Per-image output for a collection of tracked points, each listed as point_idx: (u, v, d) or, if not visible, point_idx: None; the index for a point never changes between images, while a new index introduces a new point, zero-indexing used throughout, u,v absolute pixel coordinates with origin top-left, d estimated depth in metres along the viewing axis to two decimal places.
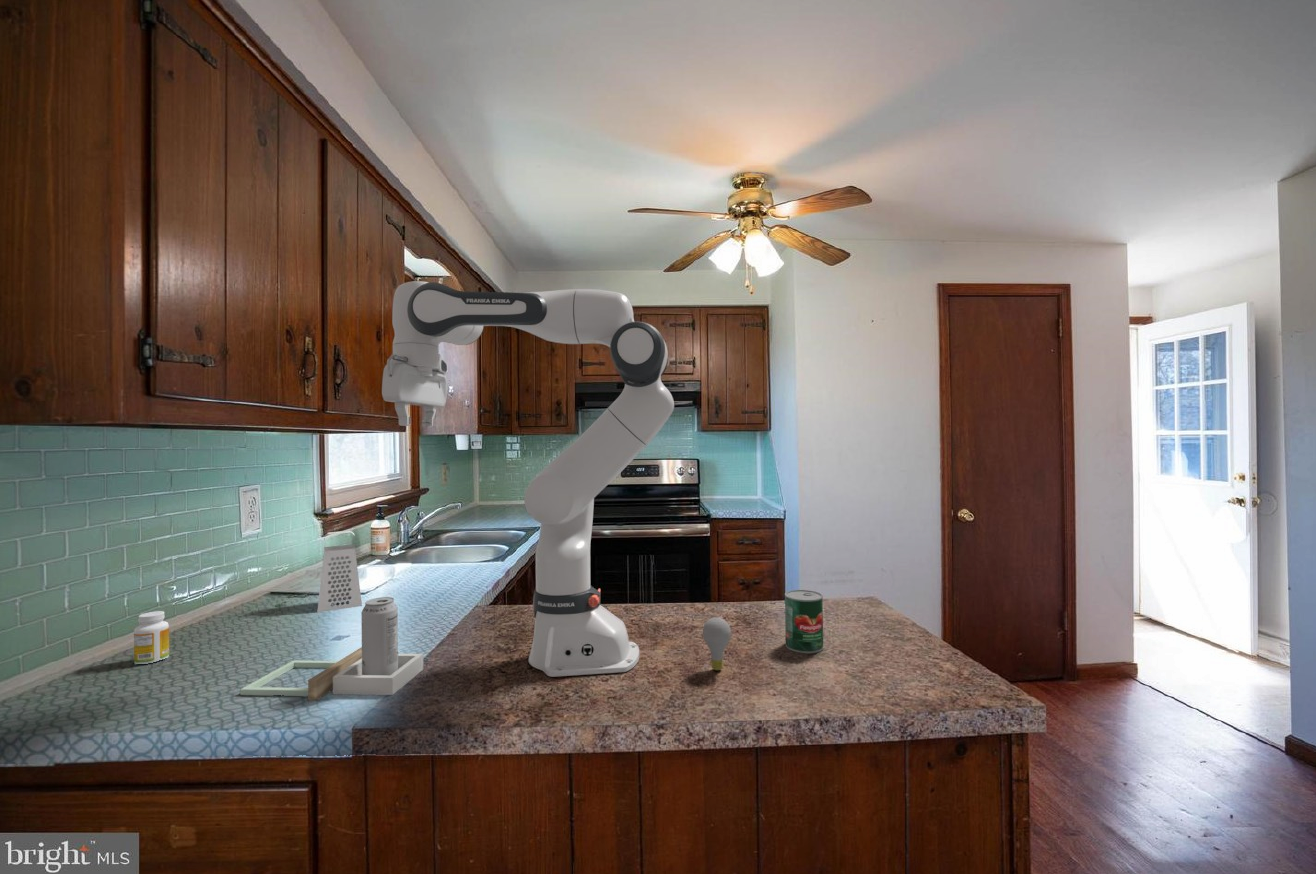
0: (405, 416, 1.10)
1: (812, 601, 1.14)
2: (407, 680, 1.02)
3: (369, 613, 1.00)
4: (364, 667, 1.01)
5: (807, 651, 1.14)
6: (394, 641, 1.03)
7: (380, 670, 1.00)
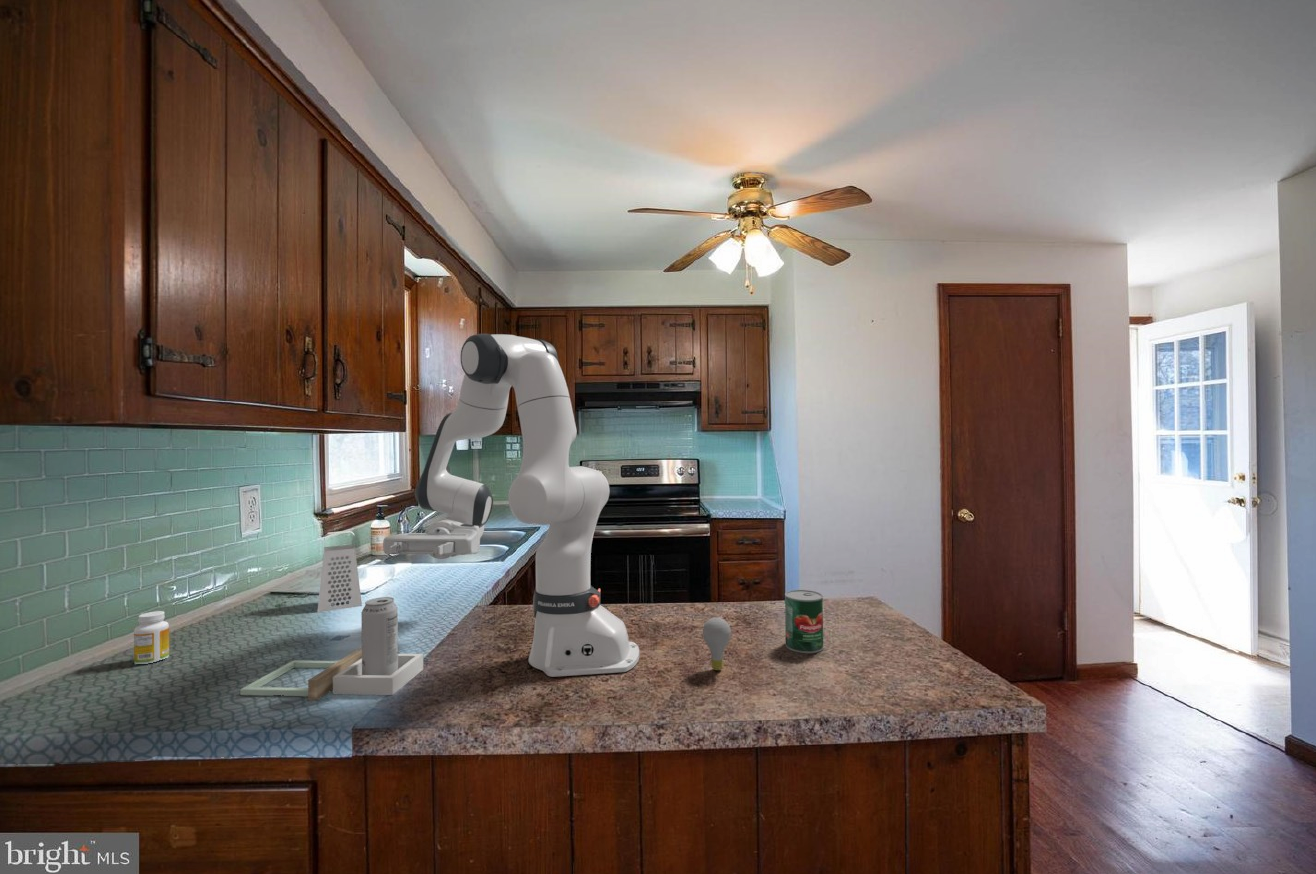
0: None
1: (812, 601, 1.14)
2: (407, 680, 1.02)
3: (369, 613, 1.00)
4: (364, 667, 1.01)
5: (807, 651, 1.14)
6: (394, 641, 1.03)
7: (380, 670, 1.00)
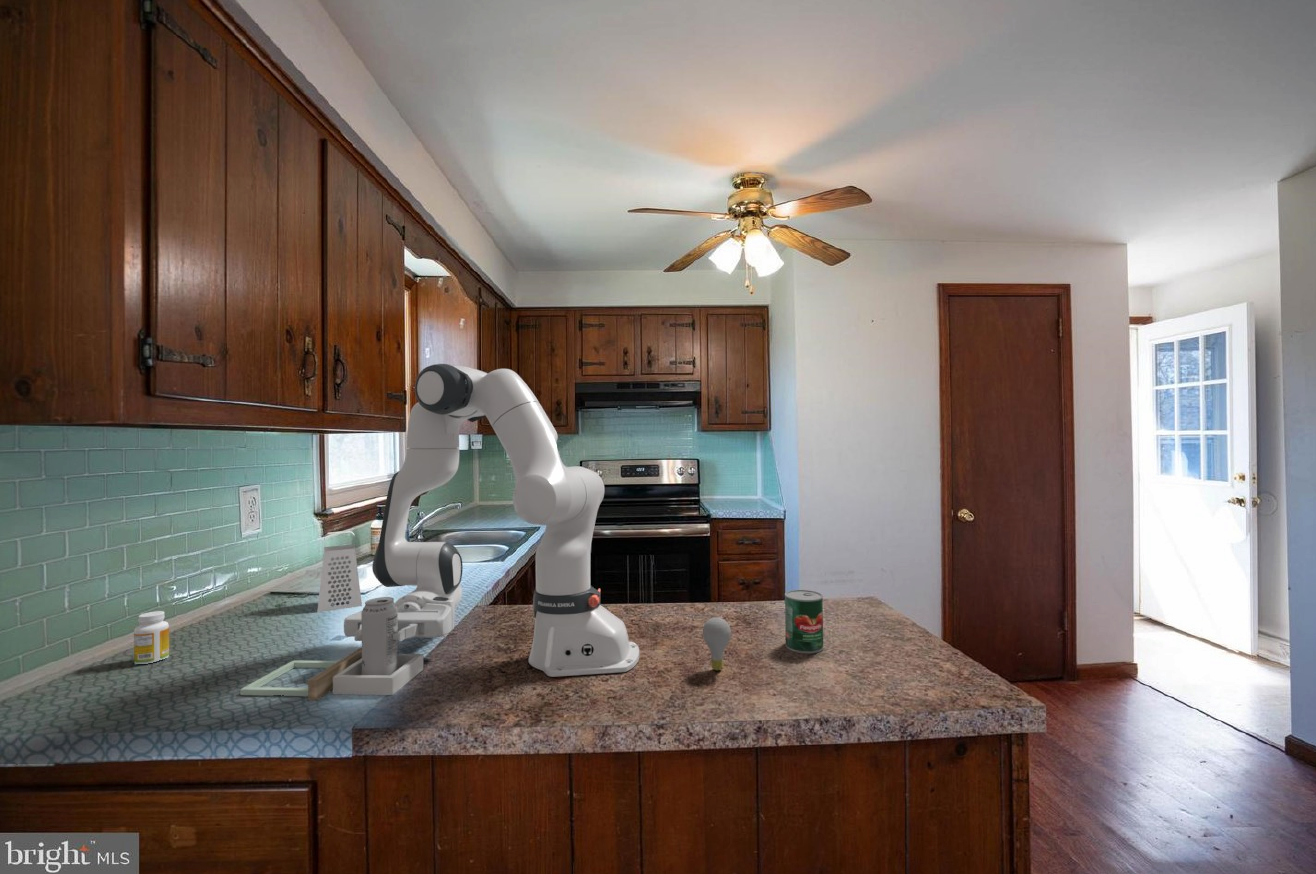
0: None
1: (812, 601, 1.14)
2: (407, 680, 1.02)
3: (369, 613, 1.00)
4: (364, 667, 1.00)
5: (807, 651, 1.14)
6: (394, 641, 1.03)
7: (380, 670, 1.00)
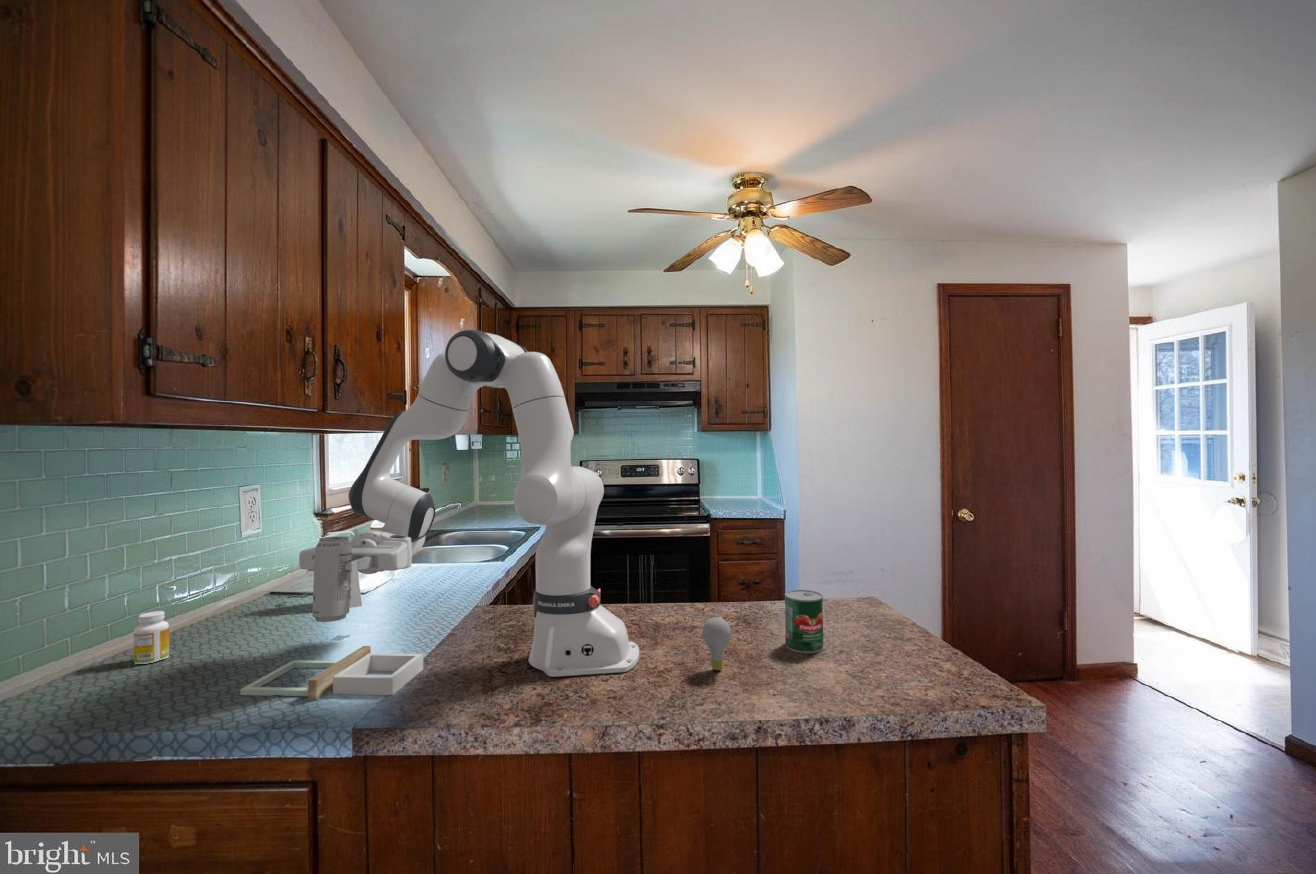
0: None
1: (812, 601, 1.14)
2: (407, 680, 1.02)
3: (322, 547, 1.02)
4: (314, 602, 1.01)
5: (807, 651, 1.14)
6: (346, 578, 1.04)
7: (329, 604, 1.01)
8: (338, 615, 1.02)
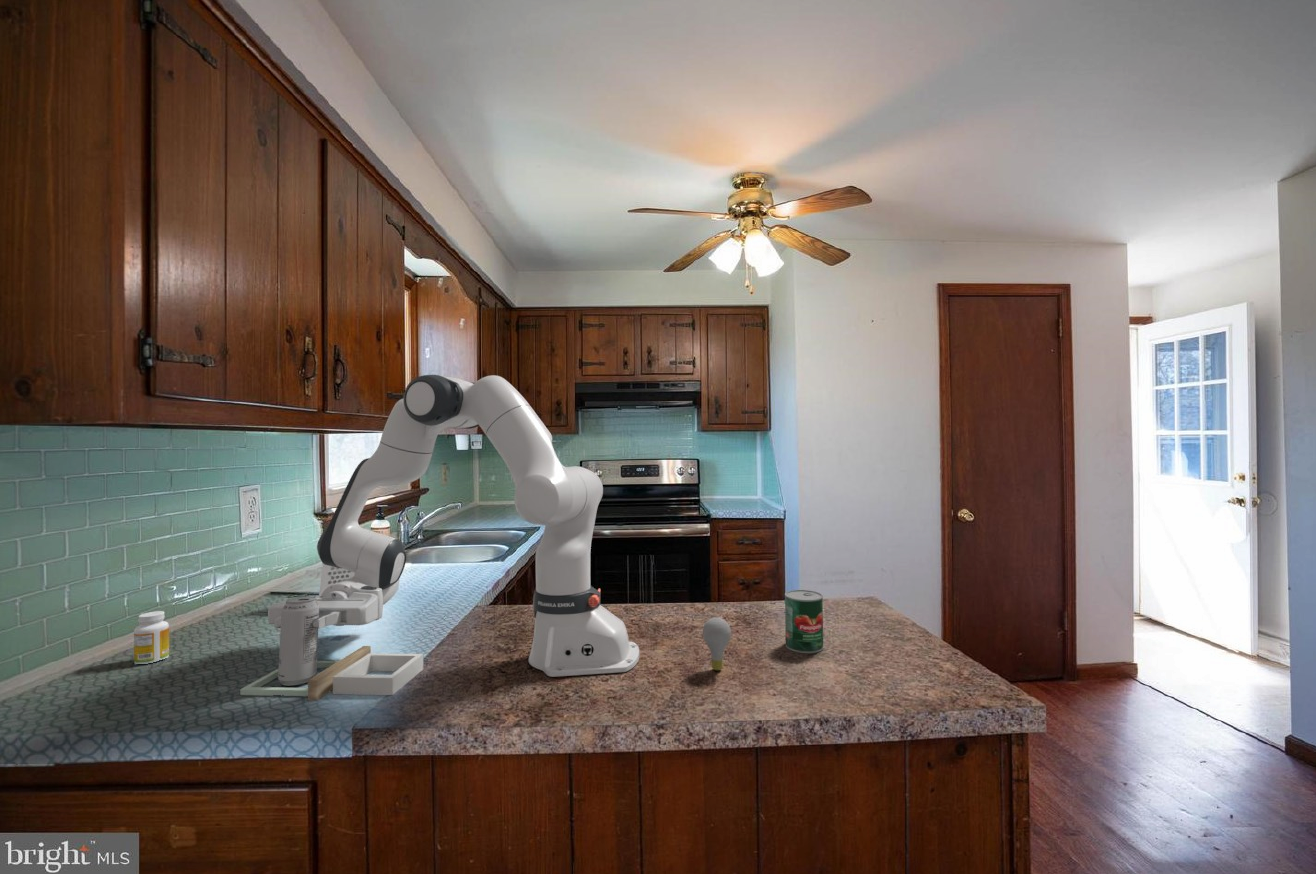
0: None
1: (812, 601, 1.14)
2: (407, 680, 1.02)
3: (287, 610, 1.01)
4: (280, 665, 1.01)
5: (807, 651, 1.14)
6: (313, 640, 1.03)
7: (295, 668, 1.01)
8: (304, 678, 1.02)
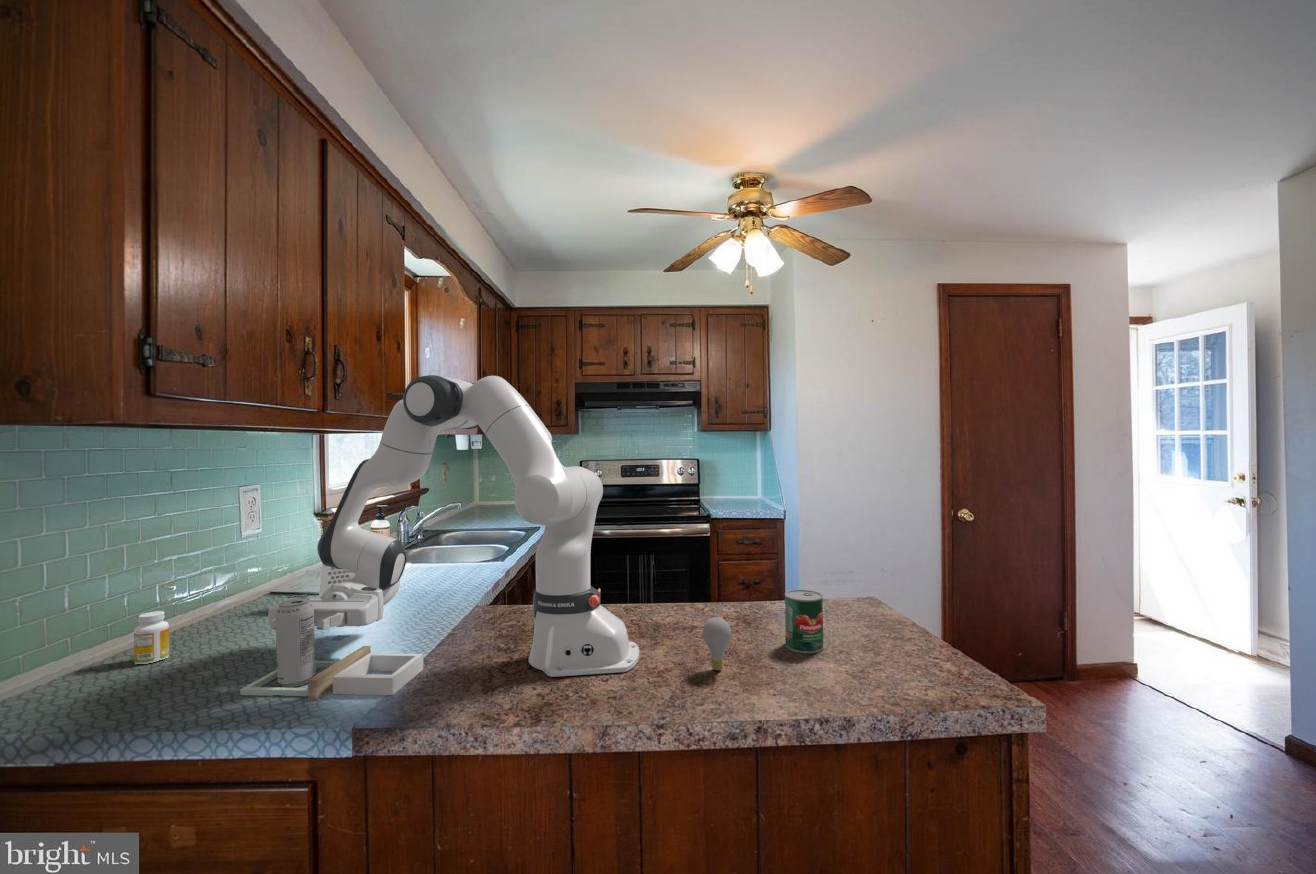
0: None
1: (812, 601, 1.14)
2: (407, 680, 1.02)
3: (281, 614, 1.00)
4: (278, 668, 1.01)
5: (807, 651, 1.14)
6: (309, 642, 1.03)
7: (293, 671, 1.00)
8: (303, 680, 1.01)
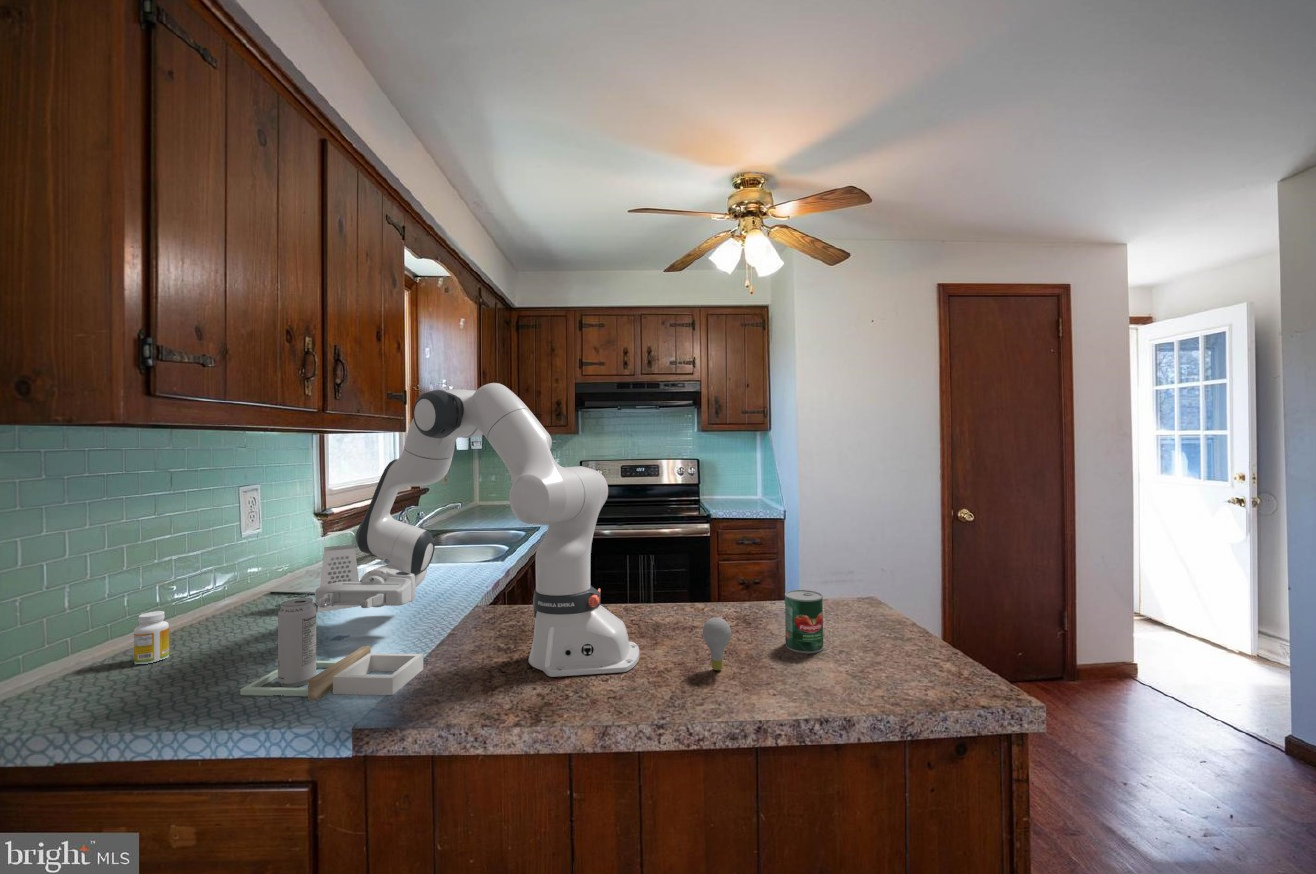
0: None
1: (812, 601, 1.14)
2: (407, 680, 1.02)
3: (284, 613, 1.01)
4: (279, 668, 1.01)
5: (807, 651, 1.14)
6: (311, 642, 1.03)
7: (294, 670, 1.01)
8: (304, 680, 1.01)
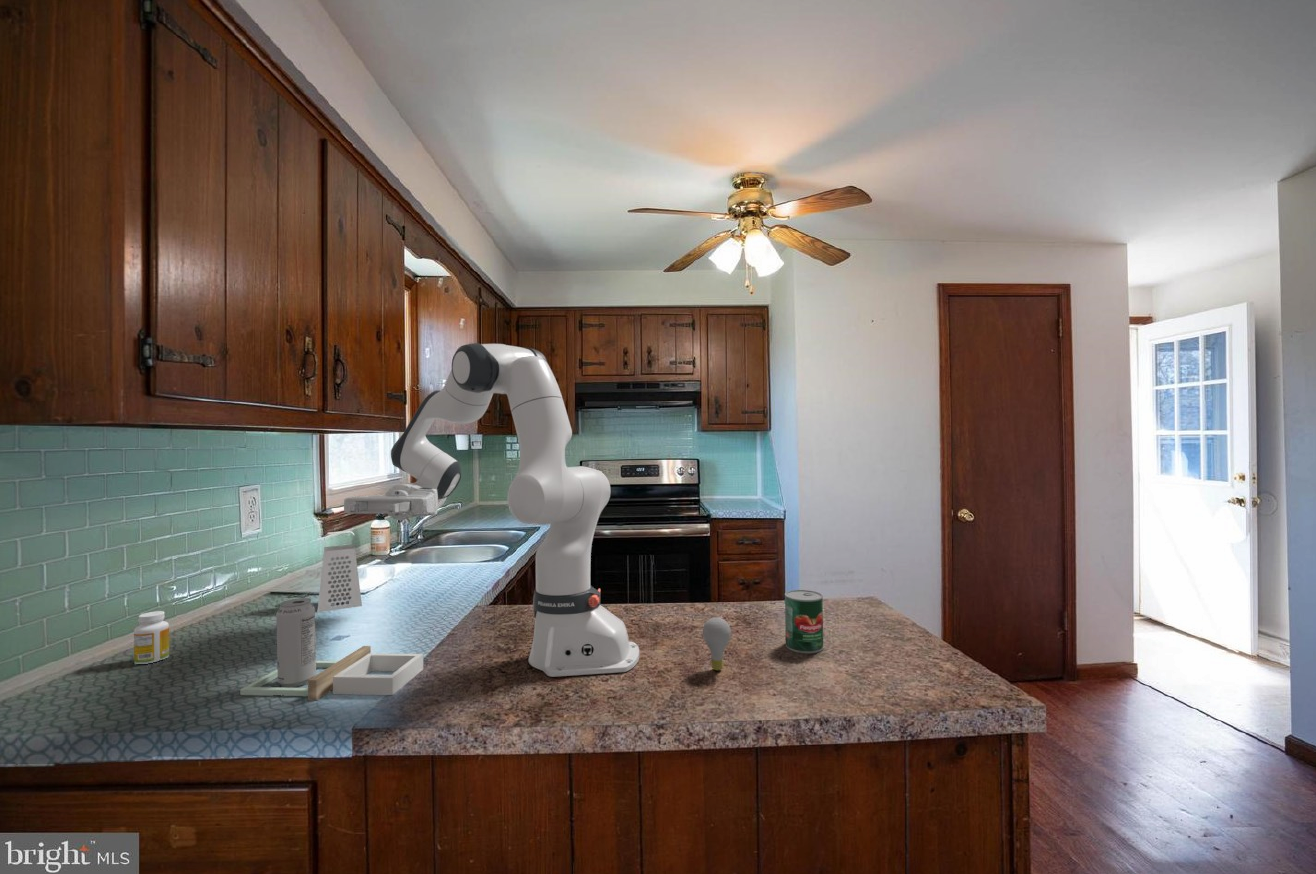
0: None
1: (812, 601, 1.14)
2: (407, 680, 1.02)
3: (283, 614, 1.00)
4: (279, 668, 1.01)
5: (807, 651, 1.14)
6: (310, 642, 1.03)
7: (294, 671, 1.00)
8: (304, 680, 1.02)
